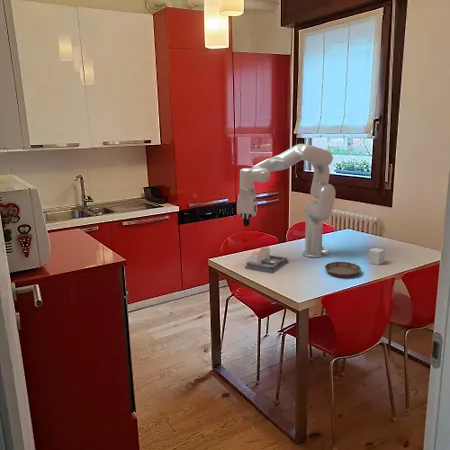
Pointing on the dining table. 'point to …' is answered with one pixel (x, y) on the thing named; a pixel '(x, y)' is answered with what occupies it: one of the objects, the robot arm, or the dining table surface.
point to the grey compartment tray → (268, 264)
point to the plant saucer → (342, 269)
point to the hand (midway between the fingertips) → (246, 225)
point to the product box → (376, 256)
